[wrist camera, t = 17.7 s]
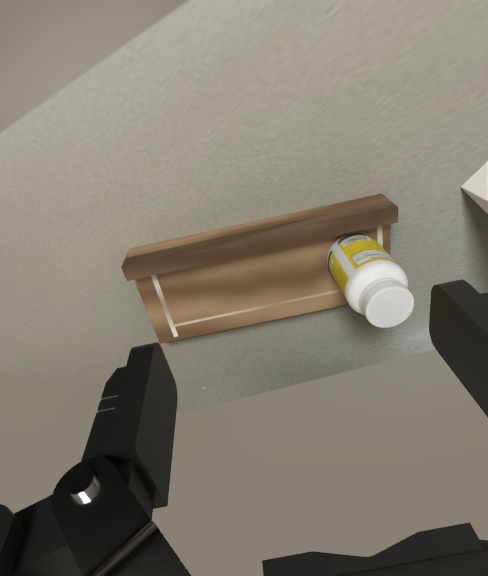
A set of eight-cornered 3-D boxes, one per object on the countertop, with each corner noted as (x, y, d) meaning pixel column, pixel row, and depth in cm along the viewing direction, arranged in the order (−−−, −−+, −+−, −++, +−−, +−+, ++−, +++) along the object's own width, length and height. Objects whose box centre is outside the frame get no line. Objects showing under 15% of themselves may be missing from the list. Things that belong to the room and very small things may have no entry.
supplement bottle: (353, 286, 42) (388, 344, 34) (315, 261, 40) (342, 316, 32) (389, 248, 40) (436, 300, 31) (351, 219, 38) (390, 267, 30)
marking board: (129, 249, 40) (121, 267, 37) (381, 193, 39) (398, 207, 36) (162, 332, 46) (158, 355, 42) (383, 286, 45) (397, 305, 41)
